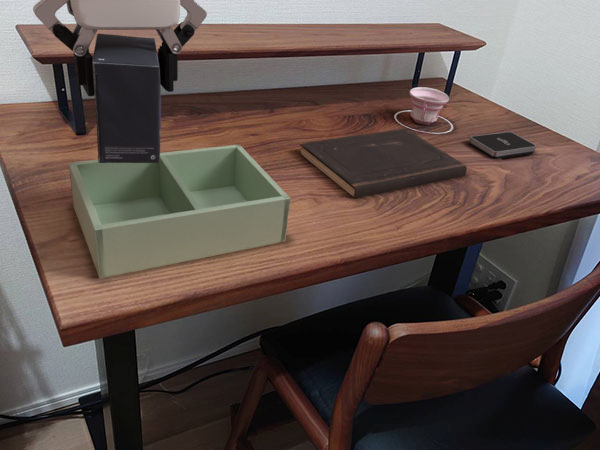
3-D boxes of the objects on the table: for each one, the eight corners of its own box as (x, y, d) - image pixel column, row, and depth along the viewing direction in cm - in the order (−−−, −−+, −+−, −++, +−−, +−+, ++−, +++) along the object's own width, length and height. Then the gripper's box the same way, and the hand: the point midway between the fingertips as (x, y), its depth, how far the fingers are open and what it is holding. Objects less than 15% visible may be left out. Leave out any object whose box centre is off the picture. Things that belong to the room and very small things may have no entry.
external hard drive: (534, 155, 104) (537, 146, 103) (491, 162, 99) (495, 152, 98) (507, 140, 109) (510, 131, 108) (465, 146, 104) (468, 136, 103)
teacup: (398, 108, 118) (404, 80, 115) (454, 121, 116) (463, 92, 112) (388, 127, 108) (395, 96, 105) (450, 141, 106) (458, 110, 102)
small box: (163, 164, 58) (162, 65, 52) (97, 165, 56) (88, 62, 50) (158, 124, 66) (157, 35, 61) (101, 124, 64) (93, 31, 59)
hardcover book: (298, 155, 92) (299, 143, 91) (403, 140, 103) (405, 128, 102) (353, 202, 81) (356, 188, 80) (464, 178, 92) (468, 166, 91)
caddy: (99, 282, 59) (94, 229, 56) (73, 210, 71) (68, 162, 67) (284, 244, 70) (290, 198, 66) (236, 186, 81) (239, 144, 77)
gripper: (199, -101, 55) (196, 74, 65) (4, -122, 47) (33, 81, 57) (228, -93, 50) (220, 97, 59) (13, -115, 42) (43, 108, 51)
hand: (128, 88), depth 58 cm, fingers closed on small box, 7 cm apart
